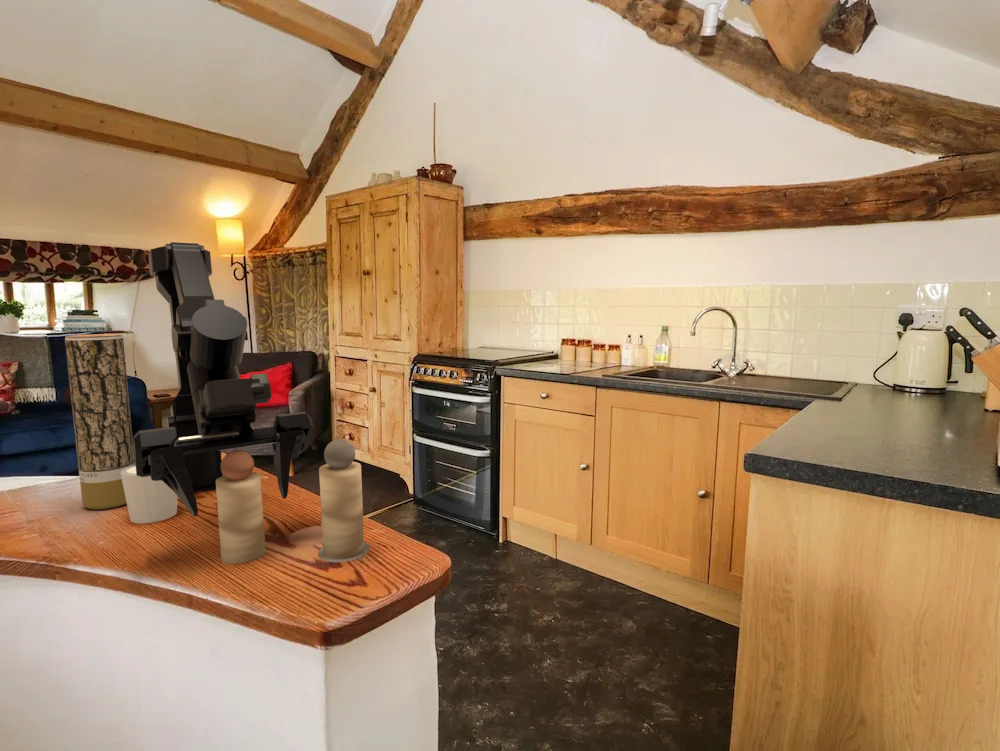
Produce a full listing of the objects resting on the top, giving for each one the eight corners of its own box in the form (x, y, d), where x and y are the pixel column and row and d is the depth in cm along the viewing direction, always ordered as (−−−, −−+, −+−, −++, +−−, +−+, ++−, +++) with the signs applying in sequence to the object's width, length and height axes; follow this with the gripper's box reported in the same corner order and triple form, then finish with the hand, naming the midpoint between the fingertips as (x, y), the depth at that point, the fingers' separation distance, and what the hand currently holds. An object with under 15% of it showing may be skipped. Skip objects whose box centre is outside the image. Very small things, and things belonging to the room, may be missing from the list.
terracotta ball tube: (263, 550, 67) (256, 443, 66) (268, 566, 63) (261, 452, 62) (221, 558, 65) (213, 448, 63) (222, 575, 61) (214, 458, 59)
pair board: (273, 544, 69) (272, 536, 69) (323, 527, 74) (323, 519, 74) (332, 577, 60) (332, 569, 60) (385, 555, 66) (384, 547, 66)
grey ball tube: (358, 539, 68) (354, 432, 66) (368, 553, 64) (364, 441, 62) (319, 547, 66) (314, 437, 64) (327, 562, 62) (322, 446, 60)
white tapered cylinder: (121, 514, 79) (117, 466, 78) (177, 503, 83) (173, 457, 82) (128, 529, 74) (123, 478, 73) (187, 516, 78) (183, 468, 77)
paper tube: (110, 512, 80) (92, 337, 76) (70, 509, 81) (51, 336, 78) (148, 496, 86) (134, 334, 83) (111, 493, 87) (95, 333, 84)
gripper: (126, 357, 59) (141, 485, 51) (305, 347, 70) (340, 453, 62) (129, 418, 66) (143, 538, 59) (291, 401, 77) (320, 501, 70)
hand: (242, 505), depth 62 cm, fingers open, 9 cm apart
